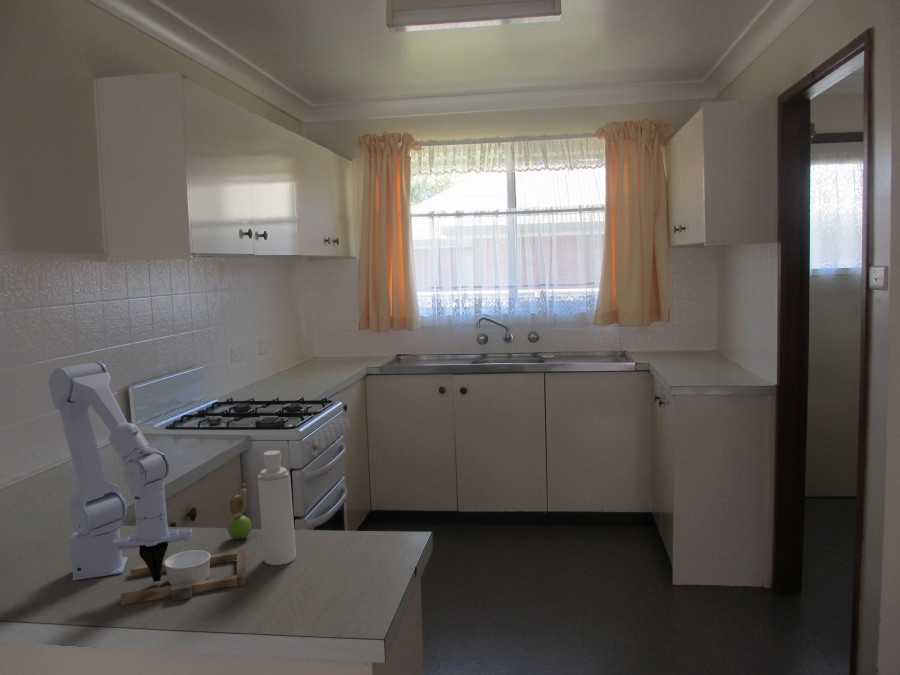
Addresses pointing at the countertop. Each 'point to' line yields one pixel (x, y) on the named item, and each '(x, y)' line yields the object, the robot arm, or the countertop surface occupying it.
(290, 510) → the white bottle
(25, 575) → the countertop surface
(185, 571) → the ramekin
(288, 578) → the countertop surface
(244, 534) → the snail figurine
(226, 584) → the brown flat frame
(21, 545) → the countertop surface
